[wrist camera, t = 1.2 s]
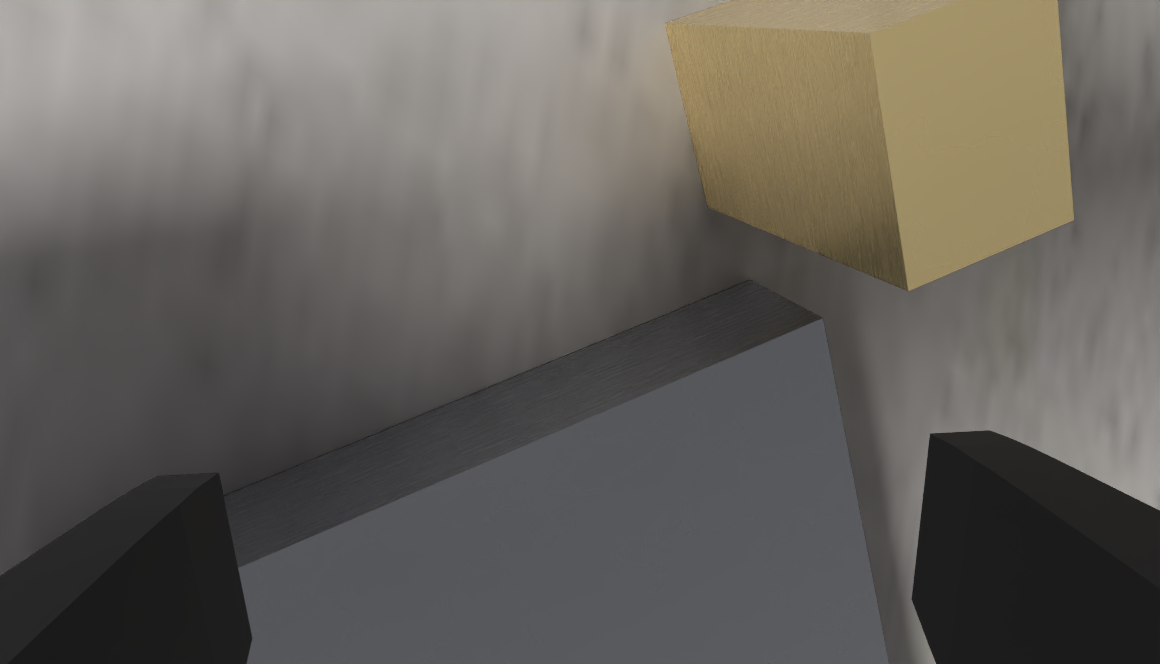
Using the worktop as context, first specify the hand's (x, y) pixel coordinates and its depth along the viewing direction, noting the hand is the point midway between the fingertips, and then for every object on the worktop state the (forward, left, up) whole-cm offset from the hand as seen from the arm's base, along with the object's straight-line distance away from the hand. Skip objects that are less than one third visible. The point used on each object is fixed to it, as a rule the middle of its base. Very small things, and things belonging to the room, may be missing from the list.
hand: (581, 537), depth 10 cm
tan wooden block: (+8, +1, -11) cm, 14 cm away
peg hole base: (-1, -11, -11) cm, 15 cm away
